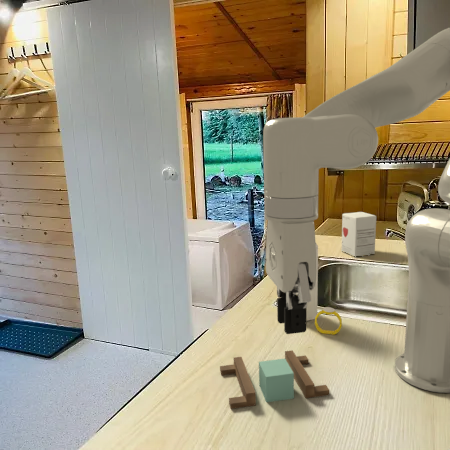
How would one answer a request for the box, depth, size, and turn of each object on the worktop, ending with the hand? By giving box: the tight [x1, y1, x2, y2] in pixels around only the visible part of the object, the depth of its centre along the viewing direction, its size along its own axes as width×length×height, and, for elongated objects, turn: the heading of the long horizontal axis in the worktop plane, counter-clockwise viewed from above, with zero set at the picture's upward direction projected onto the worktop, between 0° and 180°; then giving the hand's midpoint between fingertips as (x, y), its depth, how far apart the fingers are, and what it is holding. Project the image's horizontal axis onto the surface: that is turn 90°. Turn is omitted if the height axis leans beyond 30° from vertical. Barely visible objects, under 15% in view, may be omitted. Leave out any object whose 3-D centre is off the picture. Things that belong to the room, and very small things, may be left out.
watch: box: [314, 306, 343, 336], centre depth 96 cm, size 6×3×6 cm, turn 72°
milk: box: [296, 243, 319, 322], centre depth 103 cm, size 6×6×22 cm
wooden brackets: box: [219, 349, 330, 410], centre depth 78 cm, size 18×12×2 cm
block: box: [258, 358, 295, 403], centre depth 75 cm, size 5×5×5 cm
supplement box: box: [341, 211, 377, 258], centre depth 155 cm, size 9×9×15 cm
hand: (291, 325), depth 63 cm, fingers open, 2 cm apart
